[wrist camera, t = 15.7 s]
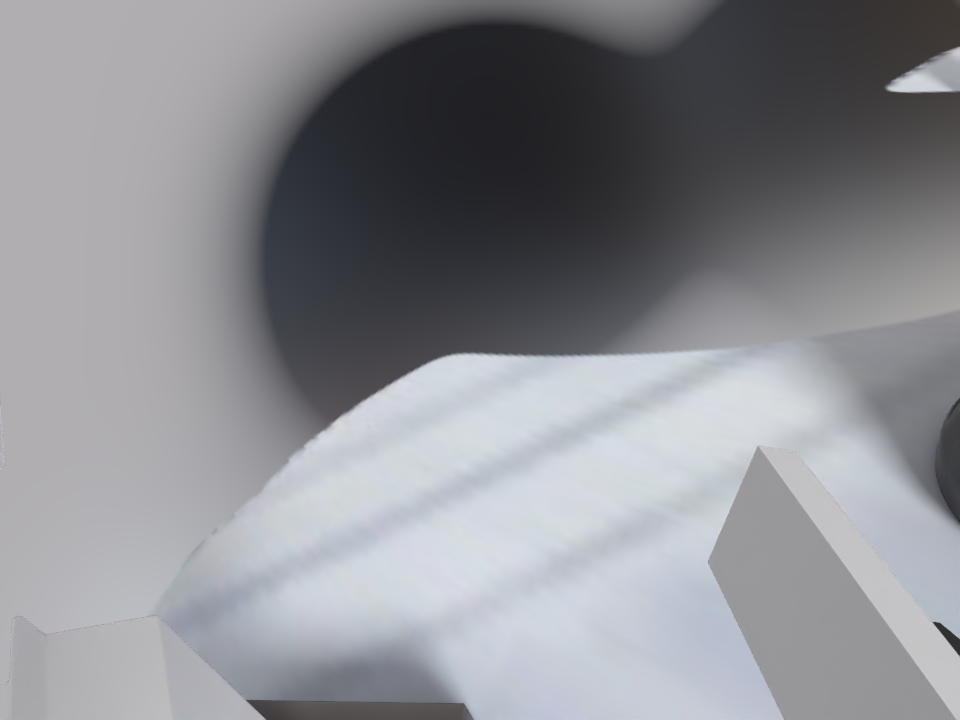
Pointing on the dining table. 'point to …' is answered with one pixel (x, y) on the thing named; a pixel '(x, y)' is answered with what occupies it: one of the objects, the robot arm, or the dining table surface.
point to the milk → (114, 676)
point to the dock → (359, 710)
